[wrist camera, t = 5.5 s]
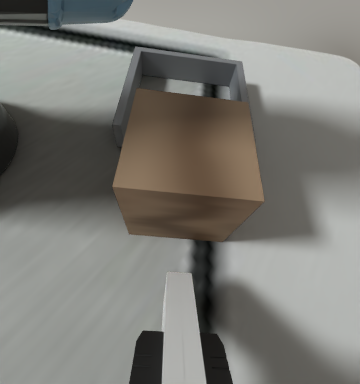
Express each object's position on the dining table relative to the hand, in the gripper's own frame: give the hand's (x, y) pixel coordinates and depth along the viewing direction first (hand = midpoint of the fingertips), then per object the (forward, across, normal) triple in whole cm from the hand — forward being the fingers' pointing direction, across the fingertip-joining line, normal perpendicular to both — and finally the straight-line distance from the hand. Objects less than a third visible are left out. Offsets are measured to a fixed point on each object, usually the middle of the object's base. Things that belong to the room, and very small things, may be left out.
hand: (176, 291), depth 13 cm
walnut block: (+8, 0, +4) cm, 9 cm away
